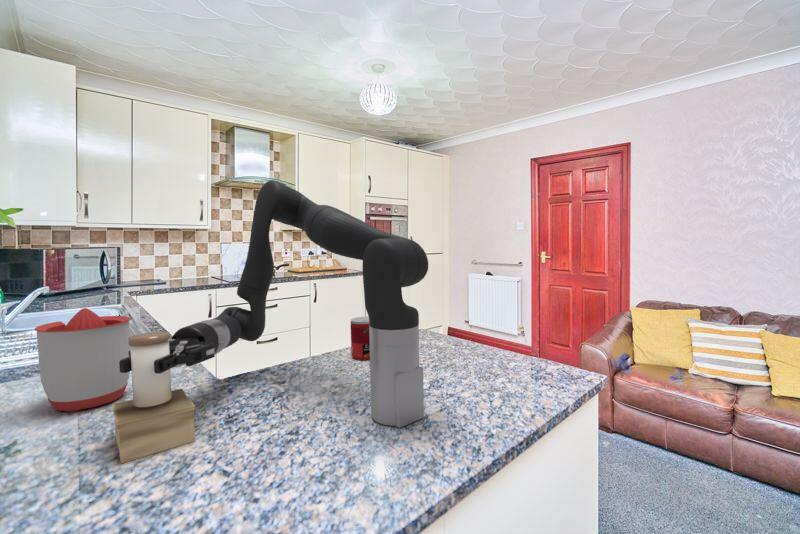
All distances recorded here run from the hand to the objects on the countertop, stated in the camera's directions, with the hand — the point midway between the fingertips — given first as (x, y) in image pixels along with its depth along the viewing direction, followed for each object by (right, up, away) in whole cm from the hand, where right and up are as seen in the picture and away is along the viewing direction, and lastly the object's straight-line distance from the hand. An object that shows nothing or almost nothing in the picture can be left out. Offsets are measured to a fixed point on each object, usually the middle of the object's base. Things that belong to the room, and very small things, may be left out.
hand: (139, 367), depth 61 cm
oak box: (0, -13, +3) cm, 14 cm away
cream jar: (0, -6, +3) cm, 7 cm away
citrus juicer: (-25, -13, +21) cm, 35 cm away
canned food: (+31, -10, +50) cm, 60 cm away
